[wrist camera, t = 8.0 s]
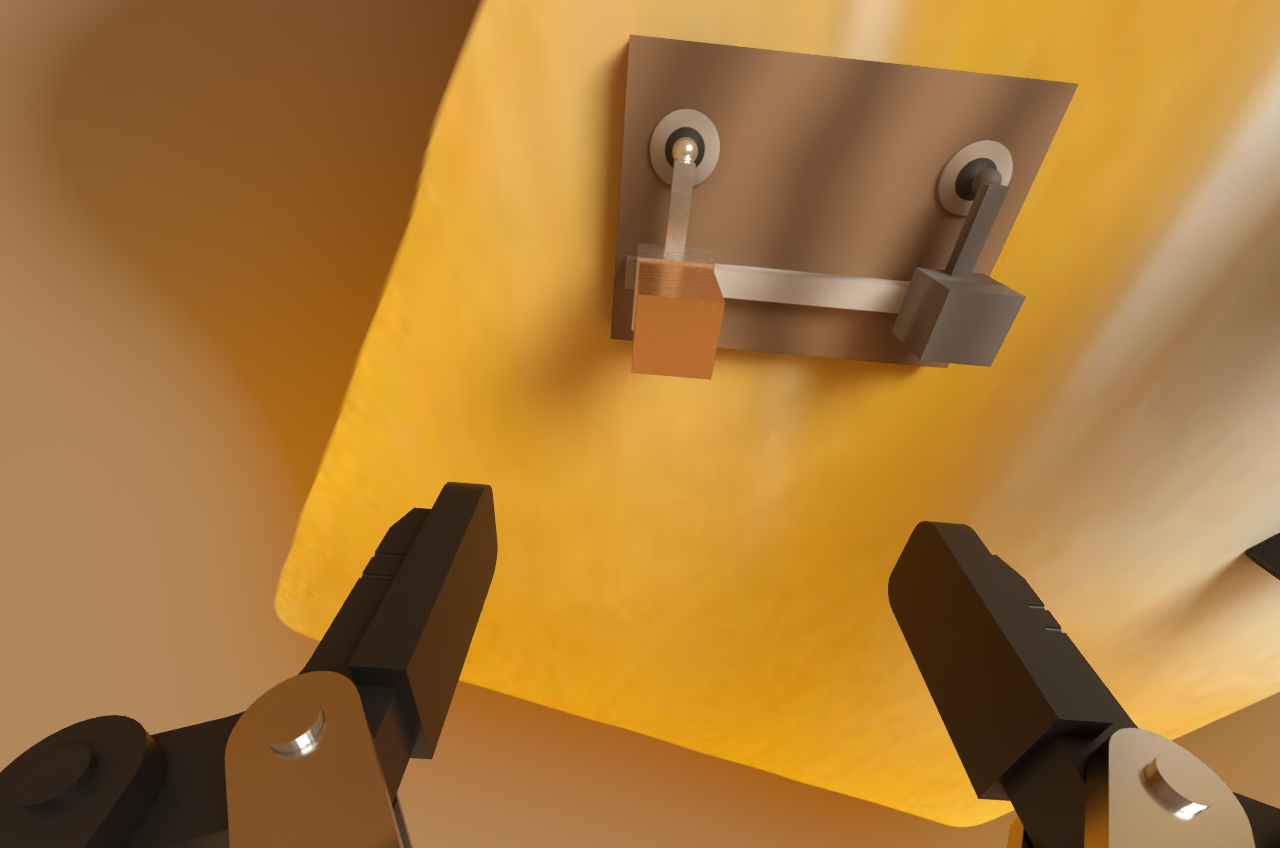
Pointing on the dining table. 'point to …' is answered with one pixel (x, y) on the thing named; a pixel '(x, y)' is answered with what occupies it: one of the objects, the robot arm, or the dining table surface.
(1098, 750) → the robot arm
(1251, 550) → the ammunition clip
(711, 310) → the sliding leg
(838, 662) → the dining table surface
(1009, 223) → the brown slider base
